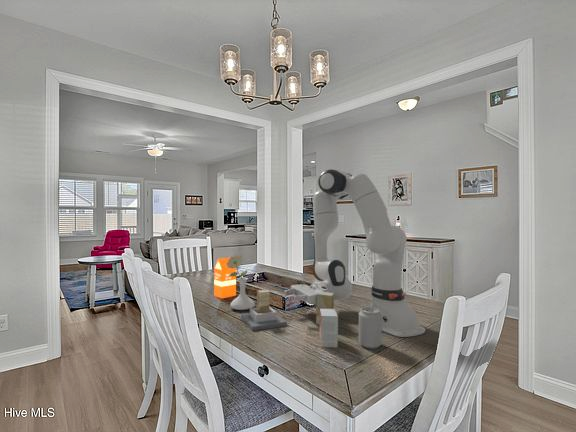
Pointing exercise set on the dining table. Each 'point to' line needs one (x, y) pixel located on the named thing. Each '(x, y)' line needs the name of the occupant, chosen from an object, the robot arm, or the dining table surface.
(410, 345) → the dining table surface
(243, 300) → the flower in vase
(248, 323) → the socket board
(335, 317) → the small box
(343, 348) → the dining table surface
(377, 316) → the can
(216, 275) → the orange juice
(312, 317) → the dining table surface
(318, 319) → the skincare box
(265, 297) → the maple peg
